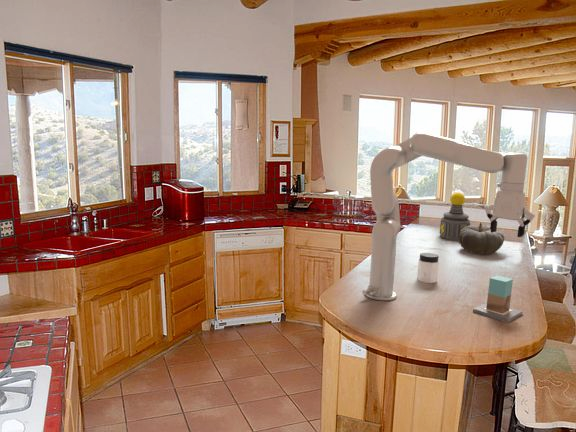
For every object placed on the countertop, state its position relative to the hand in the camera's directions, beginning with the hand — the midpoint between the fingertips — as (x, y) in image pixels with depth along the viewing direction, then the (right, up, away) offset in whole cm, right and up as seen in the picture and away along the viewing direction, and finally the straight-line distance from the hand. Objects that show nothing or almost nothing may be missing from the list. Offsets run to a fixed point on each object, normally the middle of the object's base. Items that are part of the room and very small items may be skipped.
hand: (506, 234), depth 175 cm
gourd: (+32, -14, +104) cm, 109 cm away
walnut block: (-1, -28, +5) cm, 29 cm away
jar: (-17, -23, +43) cm, 52 cm away
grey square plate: (-1, -30, +5) cm, 30 cm away
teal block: (-1, -22, +4) cm, 23 cm away
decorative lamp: (+30, -8, +142) cm, 145 cm away
